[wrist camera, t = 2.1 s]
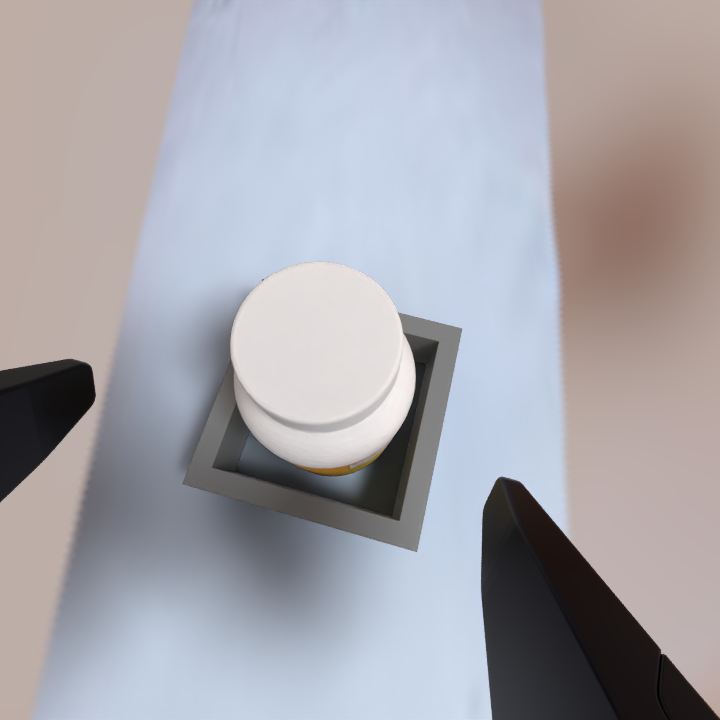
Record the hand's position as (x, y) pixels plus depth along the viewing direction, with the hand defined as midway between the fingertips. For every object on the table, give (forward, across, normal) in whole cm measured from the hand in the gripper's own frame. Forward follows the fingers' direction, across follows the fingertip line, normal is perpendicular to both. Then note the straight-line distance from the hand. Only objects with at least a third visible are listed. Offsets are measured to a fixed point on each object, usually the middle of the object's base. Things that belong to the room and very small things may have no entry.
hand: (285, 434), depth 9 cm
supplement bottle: (+8, 0, +5) cm, 10 cm away
